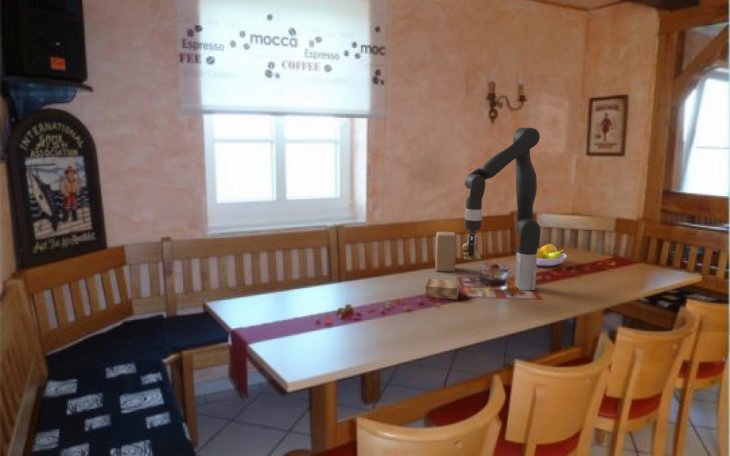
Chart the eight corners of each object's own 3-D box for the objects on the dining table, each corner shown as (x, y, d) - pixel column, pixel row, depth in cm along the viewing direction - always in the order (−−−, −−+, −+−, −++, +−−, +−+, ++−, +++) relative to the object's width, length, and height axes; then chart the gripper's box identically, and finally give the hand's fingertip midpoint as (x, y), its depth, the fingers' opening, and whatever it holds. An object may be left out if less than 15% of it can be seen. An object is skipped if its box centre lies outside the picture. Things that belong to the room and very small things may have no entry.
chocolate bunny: (465, 256, 246) (466, 235, 244) (481, 259, 241) (482, 237, 240) (460, 258, 241) (461, 237, 240) (476, 261, 237) (477, 239, 235)
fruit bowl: (509, 258, 308) (510, 239, 306) (553, 257, 311) (554, 239, 309) (529, 271, 281) (530, 250, 279) (577, 269, 284) (578, 249, 282)
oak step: (458, 291, 244) (459, 280, 243) (457, 299, 232) (457, 287, 231) (428, 289, 247) (429, 278, 246) (425, 296, 236) (425, 285, 235)
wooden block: (453, 267, 287) (455, 231, 283) (454, 272, 277) (456, 235, 274) (435, 266, 288) (436, 231, 284) (435, 271, 278) (437, 234, 274)
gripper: (481, 221, 230) (479, 259, 233) (482, 216, 244) (480, 252, 247) (463, 220, 232) (462, 258, 235) (465, 215, 246) (464, 251, 249)
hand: (471, 254), depth 241 cm, fingers closed on chocolate bunny, 4 cm apart
